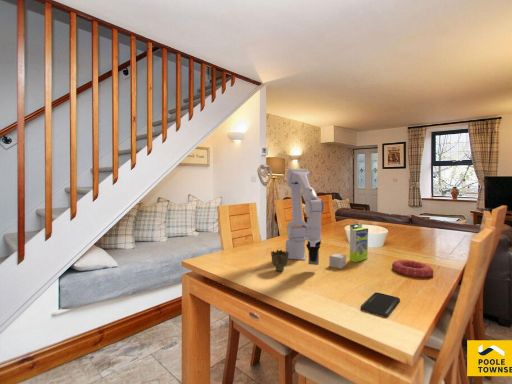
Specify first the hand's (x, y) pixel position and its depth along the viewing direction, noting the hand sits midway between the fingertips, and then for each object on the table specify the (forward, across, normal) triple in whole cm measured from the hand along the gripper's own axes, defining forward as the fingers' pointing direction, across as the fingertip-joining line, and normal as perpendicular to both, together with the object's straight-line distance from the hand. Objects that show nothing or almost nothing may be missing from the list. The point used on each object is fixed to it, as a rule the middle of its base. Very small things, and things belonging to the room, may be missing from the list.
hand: (313, 259), depth 118 cm
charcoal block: (+2, 0, 0) cm, 2 cm away
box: (+5, -23, +20) cm, 31 cm away
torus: (+5, -10, +40) cm, 42 cm away
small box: (+5, -10, +10) cm, 15 cm away
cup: (+5, +3, -14) cm, 15 cm away
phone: (+5, +27, +22) cm, 35 cm away
